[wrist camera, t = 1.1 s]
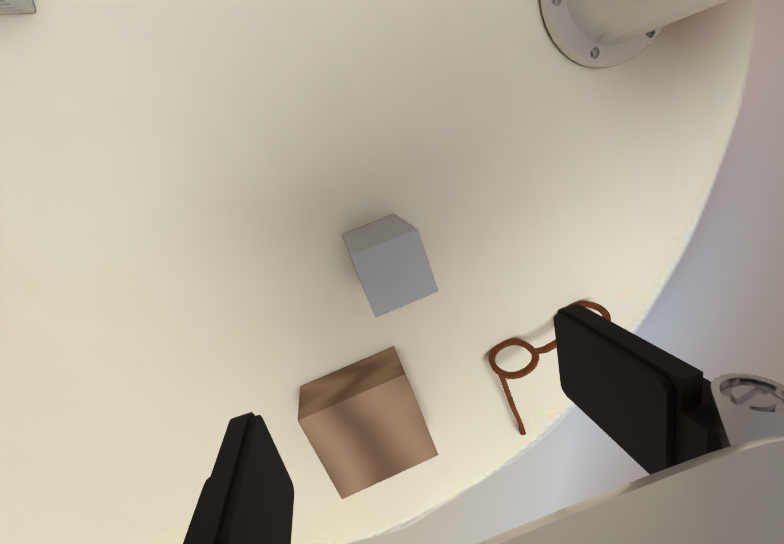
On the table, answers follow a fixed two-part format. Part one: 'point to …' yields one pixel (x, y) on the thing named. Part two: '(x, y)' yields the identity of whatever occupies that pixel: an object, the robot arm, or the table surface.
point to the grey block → (390, 263)
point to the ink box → (16, 6)
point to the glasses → (534, 360)
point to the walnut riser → (365, 423)
